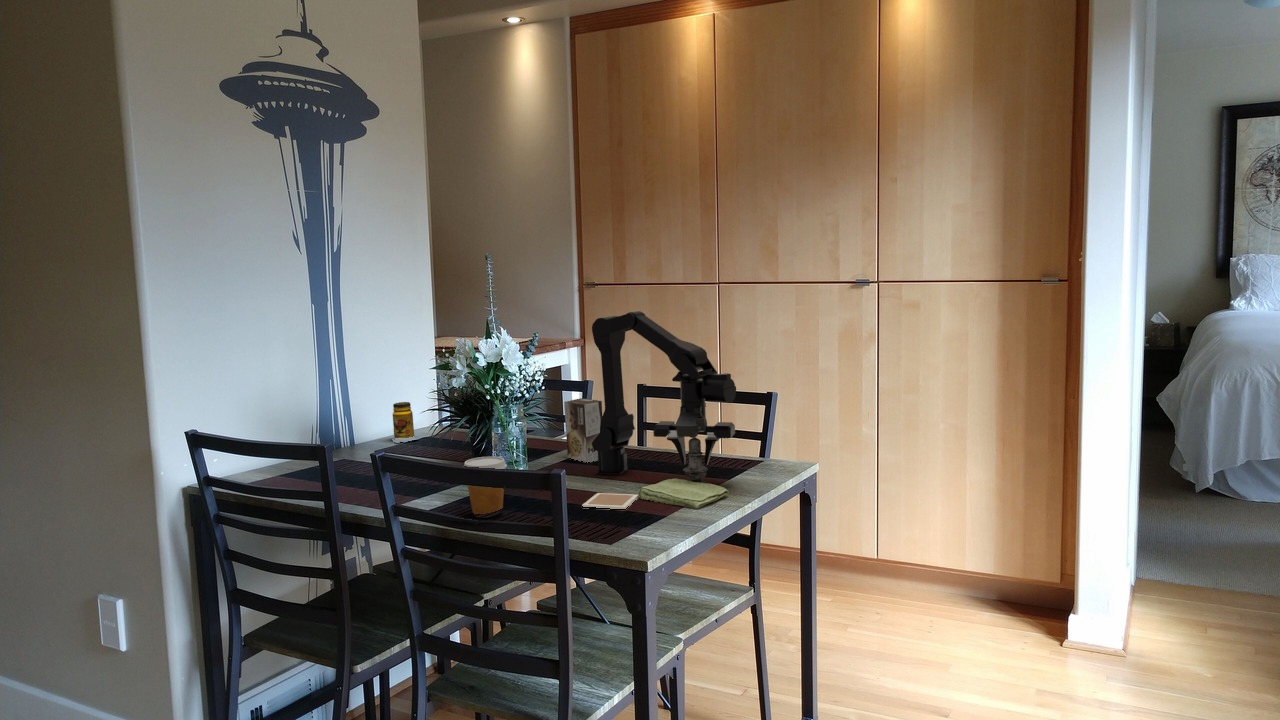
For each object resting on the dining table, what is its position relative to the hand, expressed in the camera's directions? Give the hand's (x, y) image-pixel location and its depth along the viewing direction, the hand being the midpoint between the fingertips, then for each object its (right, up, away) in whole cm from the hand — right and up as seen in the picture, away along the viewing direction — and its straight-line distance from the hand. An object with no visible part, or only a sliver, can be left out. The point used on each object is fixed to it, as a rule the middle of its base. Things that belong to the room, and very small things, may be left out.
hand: (695, 465), depth 217 cm
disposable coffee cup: (-46, -9, -18) cm, 51 cm away
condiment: (-87, 0, +67) cm, 110 cm away
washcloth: (-3, -7, -11) cm, 13 cm away
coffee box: (-28, -2, +31) cm, 42 cm away
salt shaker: (0, -5, +1) cm, 5 cm away
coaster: (-20, -7, -13) cm, 25 cm away
